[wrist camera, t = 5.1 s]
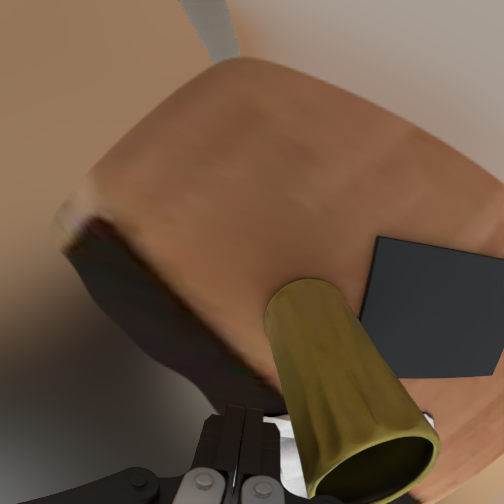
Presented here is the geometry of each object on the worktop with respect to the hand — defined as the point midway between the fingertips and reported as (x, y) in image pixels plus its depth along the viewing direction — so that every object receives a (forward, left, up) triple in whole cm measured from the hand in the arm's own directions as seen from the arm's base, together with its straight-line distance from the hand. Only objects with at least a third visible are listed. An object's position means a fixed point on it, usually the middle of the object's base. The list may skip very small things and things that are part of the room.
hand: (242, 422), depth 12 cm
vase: (0, +3, -11) cm, 12 cm away
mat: (-1, +15, -11) cm, 19 cm away
